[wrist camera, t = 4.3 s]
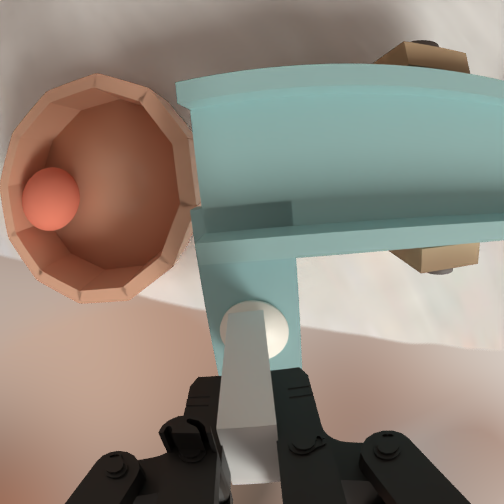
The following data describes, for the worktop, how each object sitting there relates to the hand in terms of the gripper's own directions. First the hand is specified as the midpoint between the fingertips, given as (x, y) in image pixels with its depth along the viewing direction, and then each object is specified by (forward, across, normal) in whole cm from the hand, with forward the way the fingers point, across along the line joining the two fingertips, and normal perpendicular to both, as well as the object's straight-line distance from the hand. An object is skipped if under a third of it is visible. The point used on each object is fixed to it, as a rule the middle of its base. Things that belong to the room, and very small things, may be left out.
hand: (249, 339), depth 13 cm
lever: (+1, +9, +3) cm, 9 cm away
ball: (+6, -10, +7) cm, 13 cm away
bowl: (+8, -8, +7) cm, 14 cm away
